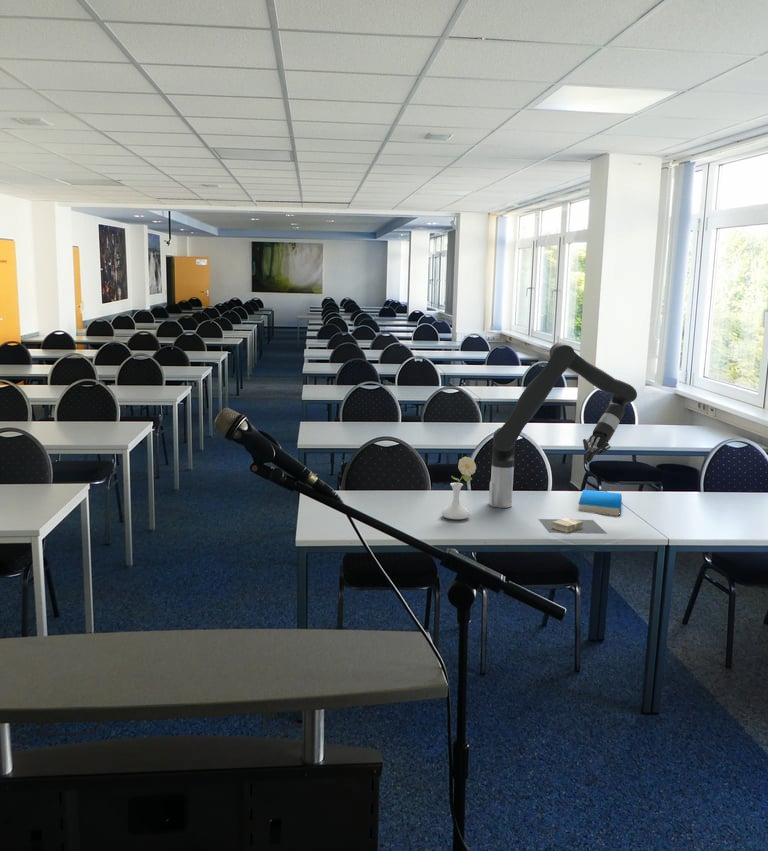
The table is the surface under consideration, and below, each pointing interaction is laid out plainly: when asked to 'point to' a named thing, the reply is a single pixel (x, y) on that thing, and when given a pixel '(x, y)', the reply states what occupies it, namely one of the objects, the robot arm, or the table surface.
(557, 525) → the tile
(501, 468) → the robot arm
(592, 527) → the mat
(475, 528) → the table surface
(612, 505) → the book
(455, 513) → the flower in vase
